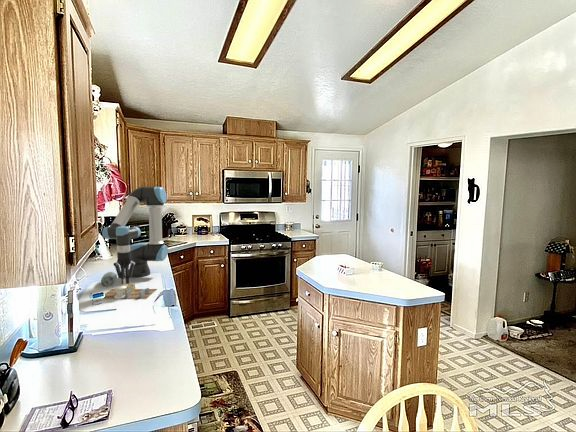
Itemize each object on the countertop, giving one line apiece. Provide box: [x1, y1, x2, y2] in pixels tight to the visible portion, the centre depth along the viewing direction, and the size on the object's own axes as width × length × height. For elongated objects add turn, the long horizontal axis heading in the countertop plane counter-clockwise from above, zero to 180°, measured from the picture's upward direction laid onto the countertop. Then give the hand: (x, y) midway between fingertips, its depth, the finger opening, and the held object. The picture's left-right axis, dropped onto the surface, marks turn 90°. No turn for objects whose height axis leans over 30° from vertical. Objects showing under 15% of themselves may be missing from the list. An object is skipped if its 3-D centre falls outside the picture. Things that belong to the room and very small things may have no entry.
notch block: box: [125, 287, 150, 298], centre depth 210 cm, size 8×12×4 cm, turn 90°
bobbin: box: [113, 284, 127, 300], centre depth 208 cm, size 7×7×6 cm
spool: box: [100, 271, 118, 287], centre depth 235 cm, size 14×10×10 cm
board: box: [102, 288, 158, 300], centre depth 214 cm, size 18×29×1 cm, turn 90°
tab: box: [125, 283, 136, 293], centre depth 217 cm, size 5×4×4 cm
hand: (125, 288), depth 218 cm, fingers closed
